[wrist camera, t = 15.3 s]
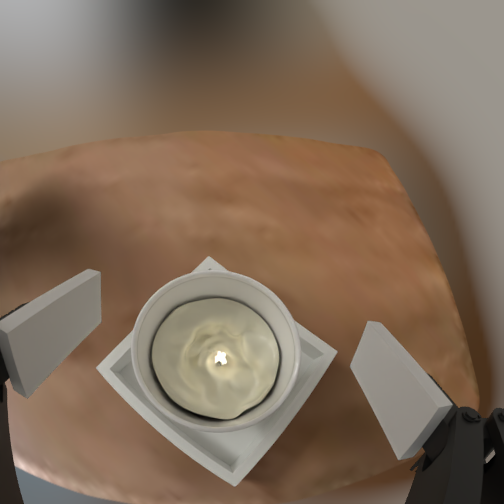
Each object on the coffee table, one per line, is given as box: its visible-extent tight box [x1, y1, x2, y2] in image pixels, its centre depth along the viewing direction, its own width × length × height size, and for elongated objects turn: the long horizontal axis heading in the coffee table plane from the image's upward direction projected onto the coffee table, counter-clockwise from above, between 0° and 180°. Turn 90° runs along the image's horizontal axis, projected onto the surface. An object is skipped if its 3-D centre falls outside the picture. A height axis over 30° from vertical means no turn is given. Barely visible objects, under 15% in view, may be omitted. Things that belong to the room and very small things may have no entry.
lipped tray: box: [96, 256, 338, 486], centre depth 24 cm, size 16×16×4 cm
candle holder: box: [131, 270, 301, 433], centre depth 19 cm, size 10×10×12 cm
